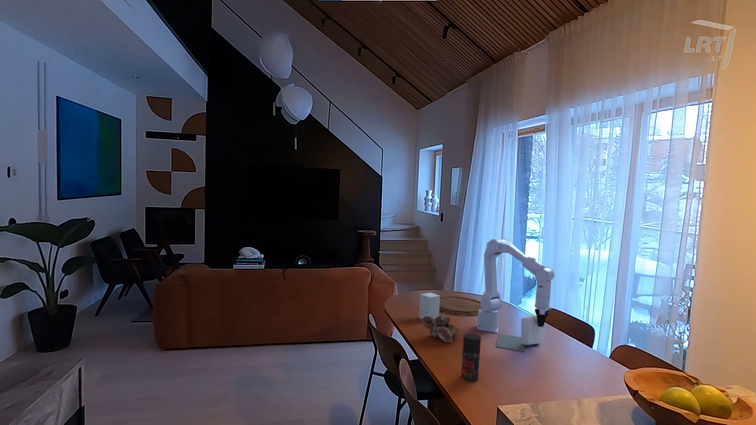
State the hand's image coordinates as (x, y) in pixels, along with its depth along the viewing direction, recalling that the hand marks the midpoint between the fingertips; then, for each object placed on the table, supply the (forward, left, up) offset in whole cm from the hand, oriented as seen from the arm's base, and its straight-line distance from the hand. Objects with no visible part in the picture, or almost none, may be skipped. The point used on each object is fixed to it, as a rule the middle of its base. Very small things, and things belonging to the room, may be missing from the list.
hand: (540, 326), depth 179 cm
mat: (-11, -2, -9) cm, 15 cm away
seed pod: (-40, -12, -9) cm, 43 cm away
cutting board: (-42, +42, -10) cm, 60 cm away
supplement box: (-52, +12, -9) cm, 54 cm away
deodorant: (-23, -45, -9) cm, 51 cm away
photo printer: (-3, 0, -8) cm, 9 cm away
